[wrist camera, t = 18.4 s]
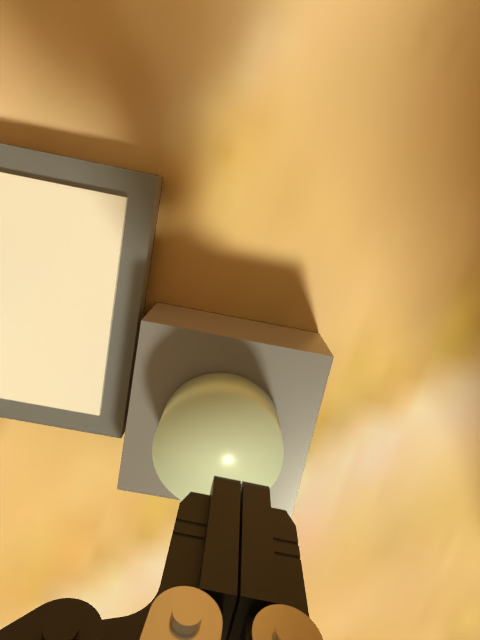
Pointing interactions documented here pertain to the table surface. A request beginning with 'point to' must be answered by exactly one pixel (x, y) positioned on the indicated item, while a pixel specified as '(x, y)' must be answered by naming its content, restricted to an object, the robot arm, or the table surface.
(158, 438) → the button
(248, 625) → the robot arm
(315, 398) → the button housing
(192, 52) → the table surface
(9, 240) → the drawing slate
